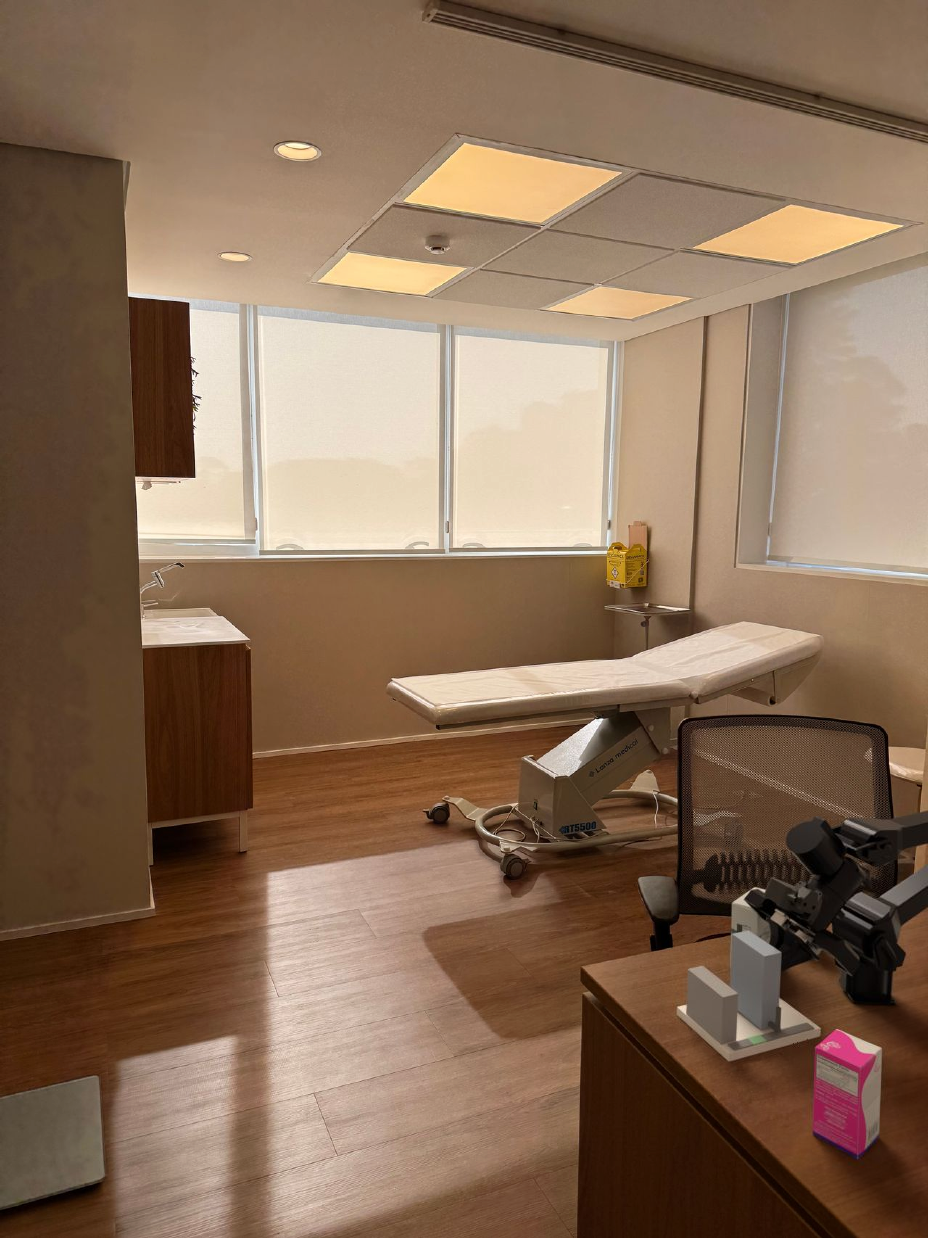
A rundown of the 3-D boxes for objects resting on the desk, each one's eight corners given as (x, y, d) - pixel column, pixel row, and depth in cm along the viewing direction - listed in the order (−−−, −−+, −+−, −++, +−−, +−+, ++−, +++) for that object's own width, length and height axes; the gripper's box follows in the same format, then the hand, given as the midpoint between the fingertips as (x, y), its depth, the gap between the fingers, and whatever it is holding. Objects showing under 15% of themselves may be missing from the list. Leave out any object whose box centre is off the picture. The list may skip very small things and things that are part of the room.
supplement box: (832, 1112, 108) (837, 1026, 107) (880, 1138, 104) (886, 1049, 102) (809, 1134, 104) (814, 1045, 103) (858, 1161, 100) (864, 1069, 98)
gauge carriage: (745, 999, 130) (748, 930, 129) (787, 1032, 122) (791, 959, 121) (729, 1003, 129) (732, 934, 128) (770, 1037, 121) (773, 963, 120)
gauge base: (762, 993, 135) (765, 943, 134) (820, 1036, 124) (823, 982, 123) (676, 1014, 129) (678, 962, 128) (728, 1061, 118) (731, 1005, 117)
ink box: (752, 950, 148) (755, 884, 146) (780, 961, 145) (783, 893, 143) (727, 969, 142) (730, 901, 140) (756, 981, 138) (759, 910, 137)
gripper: (756, 838, 135) (694, 916, 132) (849, 885, 118) (780, 977, 115) (793, 879, 139) (734, 956, 136) (888, 931, 122) (822, 1020, 119)
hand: (764, 975), depth 126 cm, fingers closed, pressing on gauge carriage
